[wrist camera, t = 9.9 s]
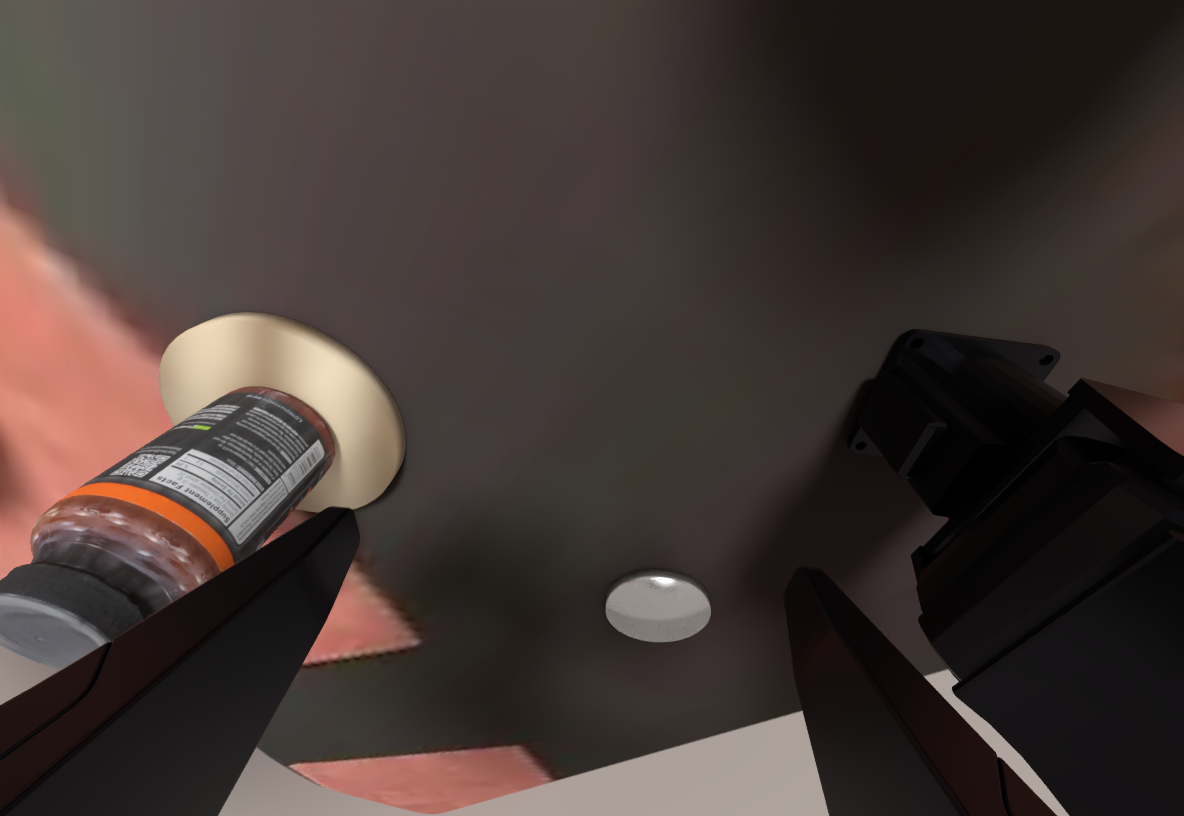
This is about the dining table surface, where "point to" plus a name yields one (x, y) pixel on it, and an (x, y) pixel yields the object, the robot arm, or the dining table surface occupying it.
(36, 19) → the dining table surface
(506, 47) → the dining table surface
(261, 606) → the robot arm
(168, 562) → the supplement bottle
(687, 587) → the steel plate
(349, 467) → the coaster
